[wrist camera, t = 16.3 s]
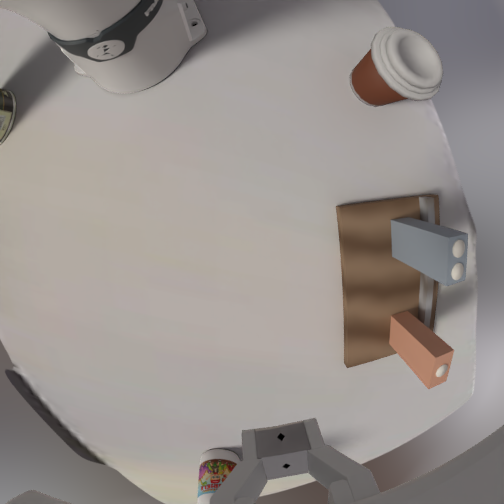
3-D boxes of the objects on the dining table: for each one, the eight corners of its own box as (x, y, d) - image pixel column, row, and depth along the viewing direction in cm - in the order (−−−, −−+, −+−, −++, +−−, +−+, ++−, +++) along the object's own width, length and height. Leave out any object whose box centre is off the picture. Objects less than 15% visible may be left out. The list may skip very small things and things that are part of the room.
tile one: (391, 315, 38) (436, 359, 26) (407, 310, 38) (454, 350, 26) (389, 343, 39) (429, 390, 27) (405, 338, 39) (446, 381, 27)
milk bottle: (245, 463, 46) (251, 544, 27) (211, 470, 46) (209, 548, 27) (229, 444, 44) (231, 534, 25) (193, 451, 45) (185, 537, 25)
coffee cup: (408, 104, 32) (462, 85, 21) (362, 125, 33) (413, 107, 21) (376, 50, 30) (420, 16, 19) (327, 67, 31) (363, 27, 19)
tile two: (390, 219, 34) (449, 238, 23) (408, 217, 34) (469, 233, 23) (392, 256, 36) (447, 286, 24) (409, 252, 36) (466, 280, 24)
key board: (336, 206, 35) (346, 208, 32) (432, 194, 36) (446, 196, 32) (344, 362, 41) (351, 375, 38) (427, 336, 41) (437, 346, 38)
